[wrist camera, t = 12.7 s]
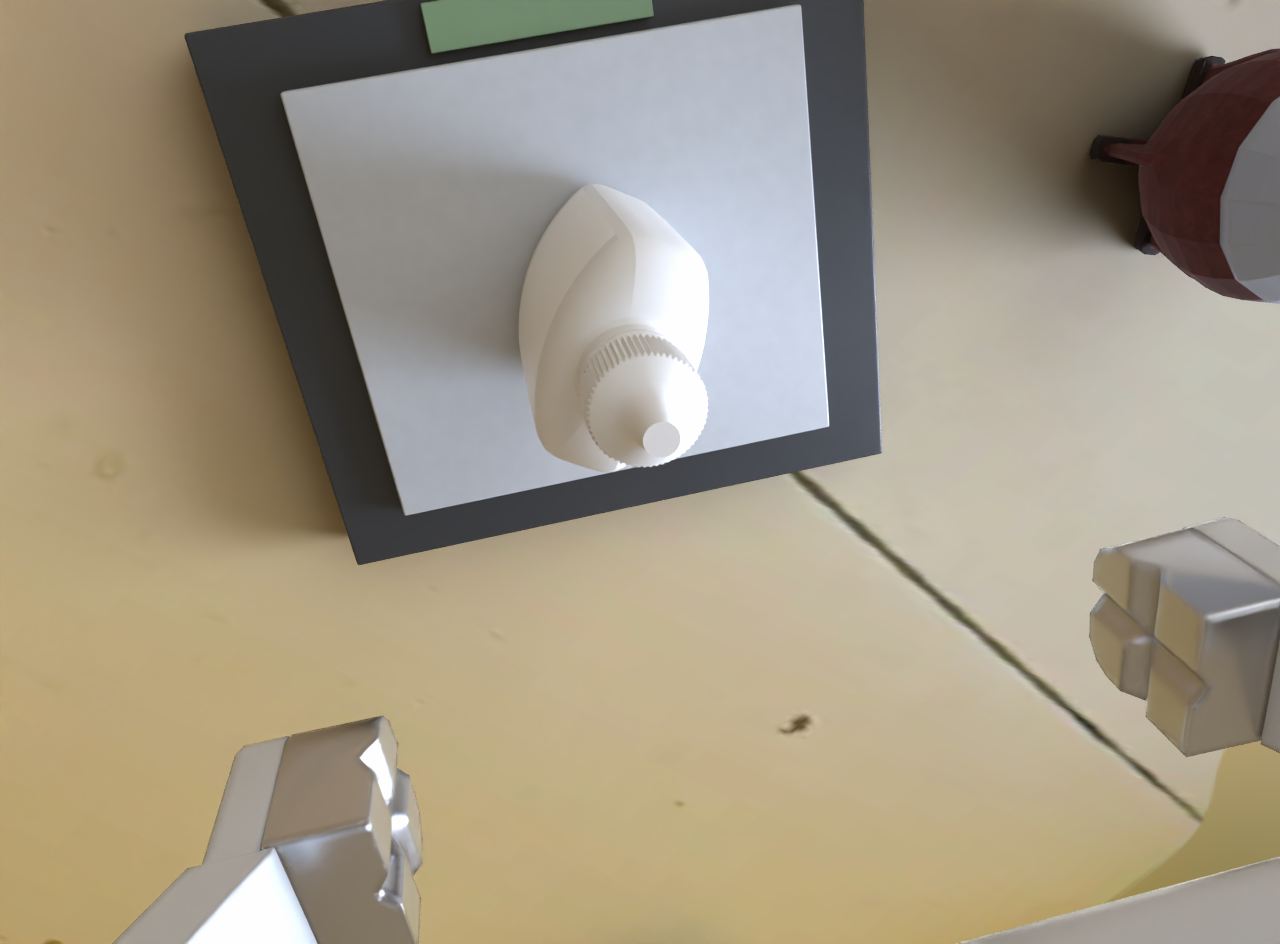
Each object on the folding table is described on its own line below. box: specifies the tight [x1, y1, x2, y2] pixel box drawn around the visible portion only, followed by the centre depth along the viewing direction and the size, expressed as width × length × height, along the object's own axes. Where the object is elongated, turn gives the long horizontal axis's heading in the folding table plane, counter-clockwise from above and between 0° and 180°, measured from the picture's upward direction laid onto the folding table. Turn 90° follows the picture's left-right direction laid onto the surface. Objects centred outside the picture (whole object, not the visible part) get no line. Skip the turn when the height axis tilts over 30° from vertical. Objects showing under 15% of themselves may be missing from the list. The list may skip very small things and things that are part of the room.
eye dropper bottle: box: [518, 183, 709, 472], centre depth 23 cm, size 4×6×12 cm
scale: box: [185, 0, 882, 565], centre depth 29 cm, size 16×18×3 cm
